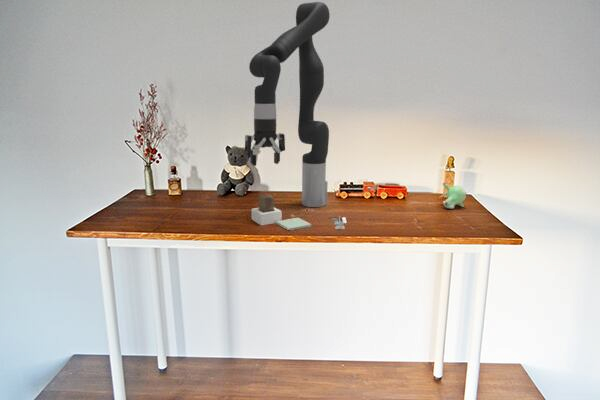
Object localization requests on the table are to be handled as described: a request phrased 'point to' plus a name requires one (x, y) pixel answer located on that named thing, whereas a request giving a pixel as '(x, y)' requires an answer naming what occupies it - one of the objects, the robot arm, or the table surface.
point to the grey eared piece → (339, 222)
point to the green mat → (293, 224)
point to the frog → (453, 196)
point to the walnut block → (266, 203)
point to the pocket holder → (266, 216)
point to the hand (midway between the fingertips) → (265, 164)
